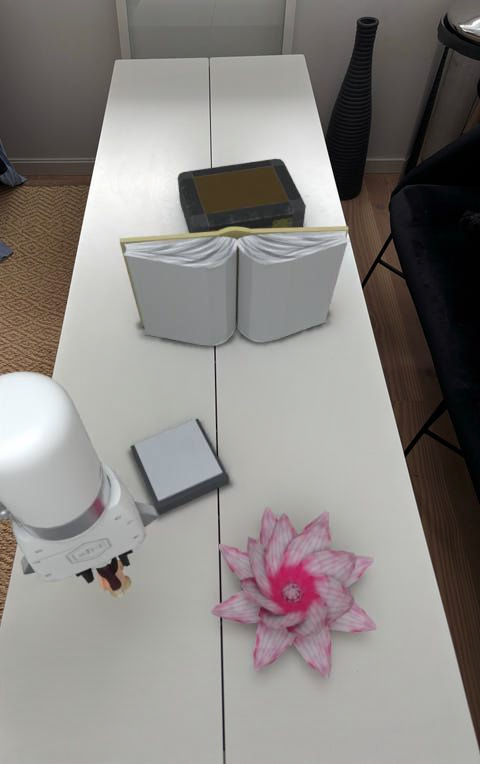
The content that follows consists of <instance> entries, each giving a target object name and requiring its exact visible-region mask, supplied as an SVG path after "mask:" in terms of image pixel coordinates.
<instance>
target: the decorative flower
mask: <svg viewBox="0 0 480 764" xmlns="http://www.w3.org/2000/svg"><path fill="white" fill-rule="evenodd" d="M262 513H263V514H262V518H261V521H260V522H261V523H260V532H259V541H258V540H256V539H255V538H252V537H250V536H248V537H247V544H246V551H245V550H242V549H240V548H237V547H233V546H229V545H226V544H222V543H219V544H218V550H219V551H220V553H221V555H222V556H223V559H224V561H225V562H226V564H227V566H228V568H229V570H230V571H231V572H232V573H233V574H234V576H236V577H237V579H238V580H239V584H240V588H241V589H242V590H241V591H239V592H237V593H235V594H233V595H231V596H230V597H228V598H226V599H225V600H224V601H222V602H220V603H219V604H217V605H216V606H214V607H213V608H212V609H211V610H210V613H211V614H212V615H214V616H217V617H218V618H221V619H223V620H227V621H232V622H237V623H242V624H258V625H257V628H256V632H255V639H254V647H253V670H254V671H255V672H259V671H261V670H262V669H264V668H266V667H267V666H269V665H271V664H273V663H274V662H275V661H276V660H277V659H278V658H279V657H281V655H283V653H285V652H286V651H287V650H288V649H289V648H290V647H291V645H292V644H293V645H294V647H295V648H296V649H297V651H298V652H299V654H300V655H301V656H302V657H303V659H304V660H305V662H306V663H307V664H308V665H309V667H311V668H312V669H314V671H316V672H317V673H318V674H319V675H321V676H322V677H323V678H324V679H330V675H331V670H332V641H331V634H330V630H331V631H339V632H346V633H363V632H372V631H376V630H377V628H378V625H377V624H376V623H375V621H374V620H373V619H372V618H371V617H370V615H368V613H367V612H366V611H365V610H364V609H363V608H362V607H360V605H358V604H357V603H356V602H355V598H354V596H353V595H352V593H351V592H350V590H349V589H348V588H349V587H350V586H352V585H353V584H354V583H356V581H358V580H359V579H360V578H361V577H362V576H363V575H364V574H365V573H366V571H367V570H368V569H369V568H370V567H371V565H373V563H374V562H375V560H374V557H373V556H366V555H365V556H364V555H357V554H356V553H354V552H350V551H346V550H338V549H337V550H336V549H335V550H333V549H332V550H331V541H332V539H331V531H330V512H329V511H326V510H325V511H324V512H323V513H321V514H320V515H319V516H317V517H316V518H315V519H313V520H312V521H311V522H310V523H309V524H307V525H306V526H305V527H304V528H303V530H302V531H301V532H300V533H299V534H298V535H297V532H296V530H295V528H294V526H293V523H292V522H291V520H290V518H289V516H288V515H287V514H286V513H285V512H283V513H281V515H280V516H279V517H278V519H277V517H276V515H275V514H274V513H273V511H272V510H271V508H270V507H269V506H268V505H267V506H266V505H265V506H264V510H263V512H262Z"/></svg>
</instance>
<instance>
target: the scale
mask: <svg viewBox="0 0 480 764" xmlns="http://www.w3.org/2000/svg"><path fill="white" fill-rule="evenodd" d="M130 450H131V452H132V455H133V458H134V460H135V462H136V464H137V467H138V469H139V471H140V473H141V476H142V478H143V481H144V483H145V485H146V488H147V490H148V492H149V495H150V497H151V499H152V502H153V504H154V508H155V510H156V512H157V515H159V516H160V515H162V514H164V513H167V512H168V511H171V510H173V509H175V508H178V507H180V506H182V505H184V504H186V503H188V502H191V501H193V500H195V499H198V498H200V497H202V496H205V495H207V494H209V493H211V492H213V491H216V490H217V489H219V488H223V487H224V486H227V485H229V484H230V483H229V482H230V481H229V480H230V479H229V475H228V473H227V471H226V468H224V465H223V463H222V462H221V460H220V458H219V456H218V454H217V452H216V450H215V448H214V446H213V443H212V442H211V441H210V439H209V437H208V435H207V433H206V431H205V429H204V428H203V425H202V423H201V422H200V419H199V418H195V419H192V420H190V421H187V422H185V423H182V424H180V425H178V426H175V427H173V428H171V429H168V430H166V431H163V432H161V433H157V434H156V435H154V436H151V437H148V438H145V439H143V440H141V441H139V442H137V443H134V444H131V445H130Z"/></svg>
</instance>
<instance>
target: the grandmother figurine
mask: <svg viewBox="0 0 480 764" xmlns="http://www.w3.org/2000/svg"><path fill="white" fill-rule="evenodd" d="M124 568H125V566H123V565H122V563H121V561H120V559H119V558H118V557H117V556H116V557H114V558H112V559H109V560H107V561H105V562H103V563H100V564H98V565H96V566H94V567H91V569H95V571H96V574H97V575H96V576H97V580H98V585H99V587H100V590H101V591H102V592H106V591H107V590H108V592H109V594H110V596H111V597H112V596H113V597H115V598H116V599H118V600H121V599H123V598H124V597H125V594H126V591H127V590H128V589H130V588H131V586H132V579H131V578H130V577H129V575H125V572H123V571H124Z"/></svg>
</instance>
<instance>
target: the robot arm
mask: <svg viewBox="0 0 480 764" xmlns="http://www.w3.org/2000/svg"><path fill="white" fill-rule="evenodd" d="M158 515H159V514H158V512H157V509H156V507H155V505H152V504H148V503H144V502H140V501H136V500H134V497H133V495H132V493H131V491H130V490H129V488H128V487H127V485H126V483H125V482H124V480H123V479H122V478H121V477H120V475H119V474H118V473H117V472H116V471H115V470H114V469H113V468H112V467H111V466H109V465H108V464H107V463H105V462H103V461H101V460H100V458H99V456H98V454H97V452H96V449H95V447H94V445H93V442H92V441H91V438H90V436H89V433H88V431H87V429H86V427H85V425H84V422H83V421H82V418H81V416H80V414H79V411H78V409H77V407H76V405H75V403H74V401H73V399H72V397H71V396H70V394H69V393H68V391H67V390H66V389H65V387H64V386H62V385H61V384H60V383H59V382H58V381H57V380H54V379H53V378H51V377H49V376H47V375H45V374H42V373H39V372H34V371H33V372H32V371H12V372H8V373H4V374H1V375H0V522H2V521H5V522H7V521H9V522H11V528H12V532H13V536H14V538H15V540H16V543H17V545H18V547H19V549H20V551H21V552H22V554H23V556H22V559H21V560H20V564H21V569H22V573H23V575H25V576H27V575H31V574H36V575H37V577H39V578H40V579H41V580H43V581H45V582H48V583H54V582H55V583H56V582H59V581H62V580H65V579H68V578H70V577H73V576H76V577H77V578H79V577H82V578H83V579H84V580H85V582H86V583H87V585H89V584H91V583H94V580H95V576H94V573H93V570H92V569H93V568H92V567H94V566H96V565H98V564H100V563H103V562H105V561H107V560H109V559H112V558H114V557H116V558H117V559H118V560H120V561H121V563H122V565H123V566H124V567H125V568H127V567H129V566H131V562H130V560H129V557H128V556H129V555H131V554H133V552H134V551H133V549H135V548H137V547H138V546H140V545H141V544H142V543H143V542H144V541H145V539H146V536H147V533H146V529H145V528H146V527H148V525H150V524H151V523H153V522H154V521H156V520H157V519H158V518H159V516H158Z"/></svg>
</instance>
